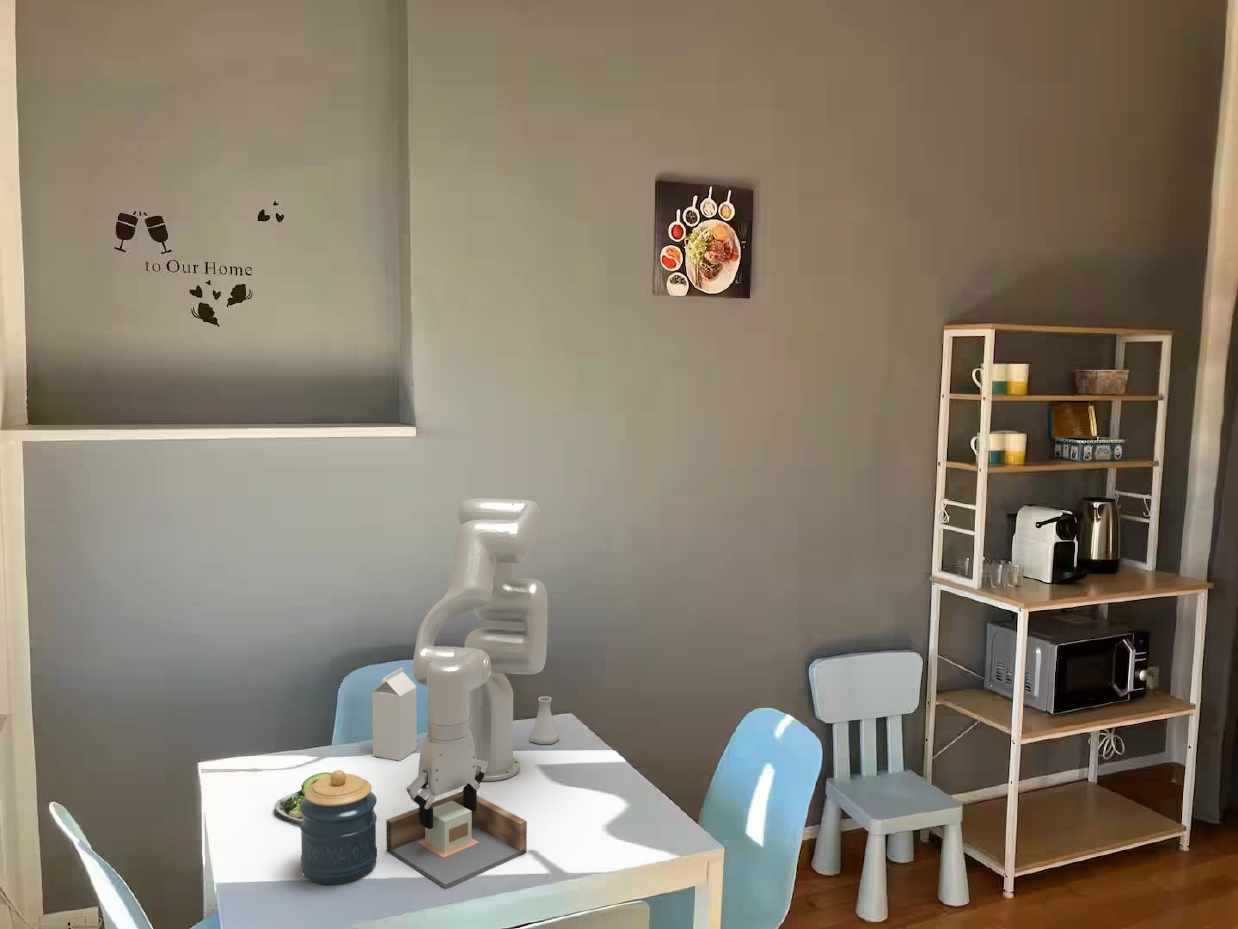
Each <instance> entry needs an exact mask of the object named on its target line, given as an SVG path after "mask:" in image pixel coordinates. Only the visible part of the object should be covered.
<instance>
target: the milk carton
mask: <svg viewBox="0 0 1238 929" xmlns="http://www.w3.org/2000/svg"><path fill="white" fill-rule="evenodd" d="M380 682H381V683H382V684H380V685H379V686H378V687H377V688H375V689H374V690H373V691H372V756H373V757H376V758H377V757H378V758H384V759H389V760H394V761H402V760H403V759H405V758H407V757H408V756H409V755H411V754H413V753H414V752H415V751H416V750H418V746H417V744H418V741H417V740H418V739H417V738H418V737H417V735H418V734H417V731H418V730H417V729H418V728H417V726H418V724H417V721H418V720H417V718H418V717H417V711H418V710H417V709H418V708H417V685H416V684H415V683H414V682H413V681H412V680H411V678H409V676H408V675H407V674H406V673H405V672H404V667H400V668H399V669H397V670H395V671H393V672H391V673H389V674H388V675H386V676H385V677H383V678H382V679H380Z"/></svg>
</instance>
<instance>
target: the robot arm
mask: <svg viewBox="0 0 1238 929" xmlns="http://www.w3.org/2000/svg"><path fill="white" fill-rule="evenodd" d="M458 520H459V525H460V526H459V528H458V531H457V532H456V533H457V534H456V537H455V544H454V551H453V557H452V558H453V559H452V563H451V564H452V565H451V571H450V575H449V576H450V577H449V582H448V584H449V585H448V590H447V592H446V594H445V595H444V596H443V597H442V598H441V599H439V601H438V602H436V603H435V604H434V605H433V607H432V608H431V609H430V610H429V611H428V613H427V614H426V616H424V619H423V620H422V622H421V624H420V626H419V629H418V631H417V636H416V641H415V642H416V643H415V648H414V654H413V661H412V673H413V678H414V680H415V682H416V683H418V684H419V685H421V686H424V687H426V703H427V704H426V705H427V706H426V712H427V713H426V714H427V715H426V716H427V718H426V719H427V720H426V722H427V724H426V725H427V726H426V729H427V730H426V732H427V733H426V736H424V737H423V738H422V739H423V740H422V743H421V747H420V753H419V760H418V761H419V762H418V773H417V774H418V775H417V777H415V779H414V780H413V781H412V782H411V783H410V784H408V786H407V787H406V792H407V794H408V795H409V797H410V800H412V801H413V802H414V803H415V804H417V805H418V808H419V821H420V824H421V825H423V826H424V827H426V828H428V829H432V828H433V808H432V807H431V804H432V803H433V802H435V799H436V797H437V796H439V795H444V794H445V793H449V792H451V791H454V790H456V789H459V788H461V787H463V790H462V791H463V806H464V807H465V808H467V809H469V810H471V811H473V812H474V811H476V803H477V796H478V794H477V793H478V790H479V789H480V787H481V782H482V781H483V782H495V781H502V780H506V779H509V778H512V777H514V776H515V775H517V773H519V771H520V770H521V763H520V761H519V759H518V758H517V757H514V691H513V690H514V689H513V688H512V685H511V683H510V681H509V679H508V678H507V676H506V675H505V674H514V675H536V674H539V673H540V672H542V671H543V669H544V668H545V665H546V661H547V647H548V646H547V643H548V639H547V638H548V602H549V601H548V594H547V593H548V592H547V588H546V586H545V584H544V583H543V582H542V581H541V580H538V579H535V578H523V577H521V578H520V577H515V574H514V569H515V568H514V567H515V564H518V563H523V562H524V561H525V560H526V559H527V558H528V556H529V555H530V552H531V551H532V547H533V545H534V543H535V540H536V538H537V537H538V535H539V531H540V528H541V523H542V514H541V509H540V507H539V505H538V504H537V503H536V502H535V501H533V500H530V499H514V498H513V499H512V498H493V497H492V498H489V497H485V498H484V497H481V498H479V497H477V498H468V499H465V500H464V501H463V502H461V503H460V505H459V507H458ZM470 611H474V615H475V617H476V618H478V619H480V621H481V620H482V621H487V622H496V623H497V622H498V623H516V624H517V623H518V624H522V625H523V626H524V628H509V627H490V626H487V627H479V628H476V629H474V630H472V631H470V632H469V633H468V635H467V636H466V638H465V641H464V647H459V646H444V645H443V646H442V645H438V646H436V645H435V641H436V638H437V635H438V633H439V632H440V630H441V629H442V627H443V626H445V625H446V624H447V623H448V622H450V621H451V620H453V619H454V618H457V617H459V616H461V615H463V614H465V613H468V612H470ZM419 790H421V791H420V793H419Z"/></svg>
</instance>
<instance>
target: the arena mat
mask: <svg viewBox="0 0 1238 929" xmlns="http://www.w3.org/2000/svg"><path fill="white" fill-rule="evenodd" d="M388 849H389V848H388ZM526 849H527V850H528V847H527V848H526ZM526 849H524V851H525V850H526ZM390 850H391V849H390ZM527 850H526V852H527ZM522 851H523V850H522ZM389 852H391V851H388V852H387V853H389ZM526 852H525V853H524V852H522V855H524V854H527V853H528V852H527V853H526ZM523 853H524V854H523ZM520 854H521V851H518V850H517V849H515V848H513V847H511V846H509V845H507V844H506V843H504V842H502V841H500V840H498V839H497V838H495V837H493V836H491V835H489V834H488V833H486V832H484V831H482V830H480V829H479V828H477V827H475V826H473V825H472V842H471V843H469V844H466V845H464V846H461V847H459V848H457V849H454V850H452V851H449V852H447V853H443V852H441V851H440V850H438V849H436V848H435V847H433V846H432V845H430V844H428V843H427V842H425V837H423V838H421V839H418V840H416V841H413V842H411V843H408V844H406V845H403V846H400V847H398V848H395V849H393V850H392V854H391V855H392V856H393V857H395V858H397V859H398V860H400V861H401V862H403V863H405V865H407V866H409V867H410V868H412V869H413V870H415V871H417V872H418V873H419V874H421V875H423V876H424V877H426V878H428V879H429V880H431V881H432V882H434V883H436V884H437V885H439V887H442V888H443V889H445V890H446V889H449V888H451V887H453V886H455V885H458V884H460V883H462V882H464V881H466V880H468V879H469V880H470V879H471V878H473V877H475V876H478V875H481V874H482V873H484V871H485V872H487V871H489V870H491V869H493V868H495V867H498V866H500V865H502V864H504V863H507V862H509V861H510V860H513V859H516V858H517V857H520V856H521V855H520ZM497 865H498V866H497Z"/></svg>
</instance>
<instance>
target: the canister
mask: <svg viewBox="0 0 1238 929" xmlns="http://www.w3.org/2000/svg"><path fill="white" fill-rule="evenodd" d="M331 773H332V775H329V776H326V777H323V778H321V779H319V780H317V781H316V782H315V783H313V784H312V785H310V786H309V787H308V788H307V789H306V791H305V799H304V800H303V801H302V802H301V804H300V811H301V813H302V814H303V818H301V819H302V821H301V824H299V825H300V826H299V828H300V836H301V840H300V841H301V856H300V867H301V869H302V870H301V871H302V873H303V876H304V877H305V878H306V879H308V880H309V881H311V882H313V883H317V884H321V885H340V884H346V883H350V882H354V881H356V880H359V879H361V878H364V877H365V876H366V875H368V874H369V873H370V872H372V870H374V868H375V866H376V861H377V858H378V853H377V852H378V848H377V818H378V817H377V813H376V812H375V809H374V808H375V806H376V805H377V801H378V800H377V796H376V794H374V793H373V792H372V784H371V783H370V782H369V781H368V780H366V779H364V778H362V777H361V776H360V775H356V774H354V773H345V771H343V770H342V769H337V770H334V771H333V772H331Z"/></svg>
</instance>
